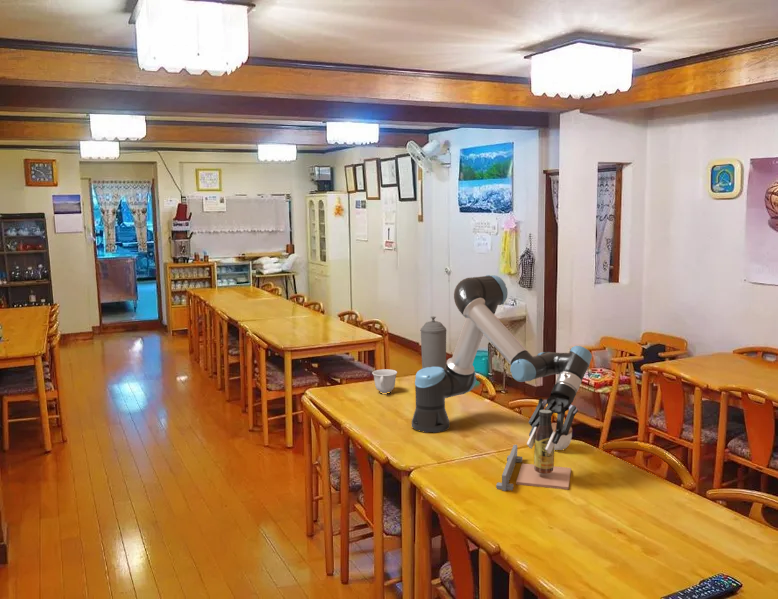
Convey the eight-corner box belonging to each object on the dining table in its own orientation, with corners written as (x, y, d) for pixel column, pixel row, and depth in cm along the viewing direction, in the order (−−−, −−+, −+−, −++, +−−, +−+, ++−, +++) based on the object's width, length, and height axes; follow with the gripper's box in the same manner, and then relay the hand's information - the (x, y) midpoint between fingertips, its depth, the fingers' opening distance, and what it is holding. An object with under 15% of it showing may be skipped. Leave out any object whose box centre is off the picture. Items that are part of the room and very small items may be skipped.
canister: (448, 384, 336) (447, 314, 331) (445, 391, 324) (445, 318, 319) (422, 383, 338) (421, 314, 333) (419, 390, 326) (418, 318, 321)
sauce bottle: (542, 476, 216) (542, 415, 213) (529, 469, 221) (530, 410, 219) (558, 471, 219) (559, 412, 216) (545, 465, 224) (546, 407, 222)
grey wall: (495, 490, 211) (495, 474, 211) (508, 457, 238) (508, 444, 237) (512, 491, 210) (512, 476, 209) (522, 459, 236) (522, 445, 235)
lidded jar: (574, 445, 249) (574, 420, 247) (569, 455, 239) (569, 429, 238) (544, 441, 253) (545, 417, 252) (538, 451, 244) (538, 425, 242)
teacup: (369, 397, 316) (368, 376, 315) (375, 389, 331) (374, 368, 329) (394, 398, 314) (394, 377, 313) (399, 389, 329) (399, 369, 327)
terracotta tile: (516, 484, 215) (516, 481, 215) (522, 465, 230) (522, 463, 230) (568, 489, 210) (568, 487, 210) (570, 470, 226) (571, 468, 225)
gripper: (536, 377, 230) (508, 436, 221) (588, 387, 217) (560, 450, 208) (544, 389, 235) (517, 447, 225) (596, 399, 221) (569, 461, 212)
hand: (538, 448), depth 216 cm, fingers closed on sauce bottle, 6 cm apart
